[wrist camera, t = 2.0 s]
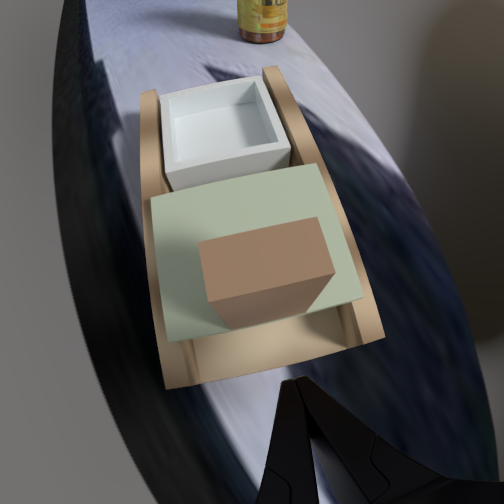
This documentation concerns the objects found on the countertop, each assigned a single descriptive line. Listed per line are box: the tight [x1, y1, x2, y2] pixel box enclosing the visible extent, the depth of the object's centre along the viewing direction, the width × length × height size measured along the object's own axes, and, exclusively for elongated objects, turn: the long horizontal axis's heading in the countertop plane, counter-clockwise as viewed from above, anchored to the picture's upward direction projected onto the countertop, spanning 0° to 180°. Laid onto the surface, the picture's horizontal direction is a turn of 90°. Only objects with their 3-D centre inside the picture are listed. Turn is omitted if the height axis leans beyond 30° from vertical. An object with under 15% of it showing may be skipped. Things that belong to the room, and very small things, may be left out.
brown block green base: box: [151, 163, 364, 343], centre depth 15 cm, size 9×11×8 cm
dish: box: [160, 76, 291, 192], centre depth 24 cm, size 9×9×3 cm
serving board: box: [140, 66, 385, 389], centre depth 22 cm, size 24×14×4 cm, turn 13°
